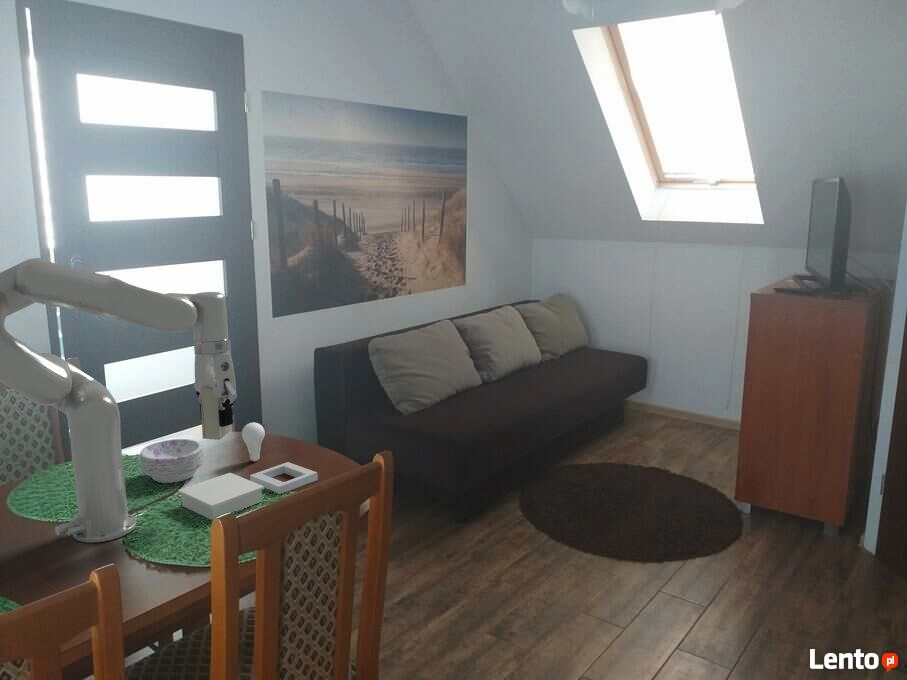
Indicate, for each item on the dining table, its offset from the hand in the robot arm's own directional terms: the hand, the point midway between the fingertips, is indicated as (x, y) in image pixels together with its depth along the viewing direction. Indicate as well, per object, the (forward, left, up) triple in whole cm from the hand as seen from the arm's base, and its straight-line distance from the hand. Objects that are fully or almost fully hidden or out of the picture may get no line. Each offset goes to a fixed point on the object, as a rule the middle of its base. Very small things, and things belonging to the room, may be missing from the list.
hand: (216, 421), depth 167 cm
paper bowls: (+2, +25, -21) cm, 32 cm away
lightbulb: (+22, +18, -21) cm, 35 cm away
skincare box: (0, 0, -4) cm, 4 cm away
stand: (0, 0, -20) cm, 20 cm away
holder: (+18, 0, -20) cm, 27 cm away
